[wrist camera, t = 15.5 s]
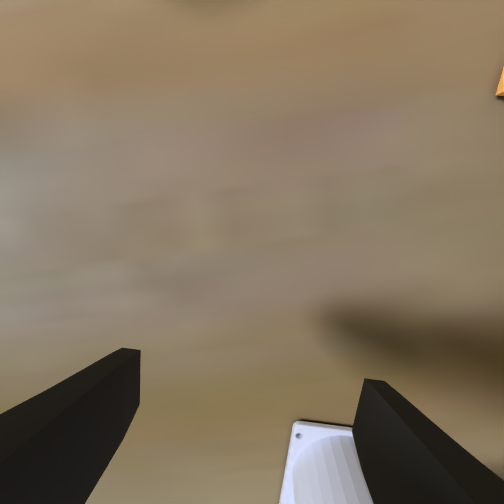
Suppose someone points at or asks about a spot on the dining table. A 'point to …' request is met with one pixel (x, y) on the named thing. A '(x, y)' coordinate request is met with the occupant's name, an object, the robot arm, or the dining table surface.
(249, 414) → the dining table surface
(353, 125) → the dining table surface
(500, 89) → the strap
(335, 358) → the dining table surface
